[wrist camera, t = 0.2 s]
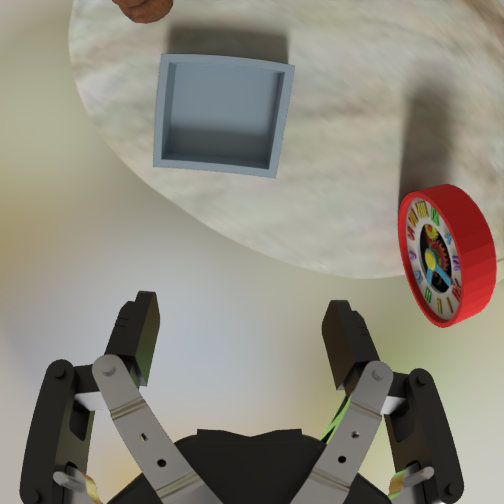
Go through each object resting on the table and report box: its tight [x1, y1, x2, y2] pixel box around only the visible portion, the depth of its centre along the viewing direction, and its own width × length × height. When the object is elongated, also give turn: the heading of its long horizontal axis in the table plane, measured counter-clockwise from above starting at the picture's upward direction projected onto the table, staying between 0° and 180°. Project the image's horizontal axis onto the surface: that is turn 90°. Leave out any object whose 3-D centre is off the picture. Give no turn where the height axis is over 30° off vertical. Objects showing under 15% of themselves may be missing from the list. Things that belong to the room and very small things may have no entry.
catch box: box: [153, 54, 295, 179], centre depth 31 cm, size 14×15×5 cm
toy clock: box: [398, 184, 497, 328], centre depth 35 cm, size 20×6×20 cm, turn 17°
